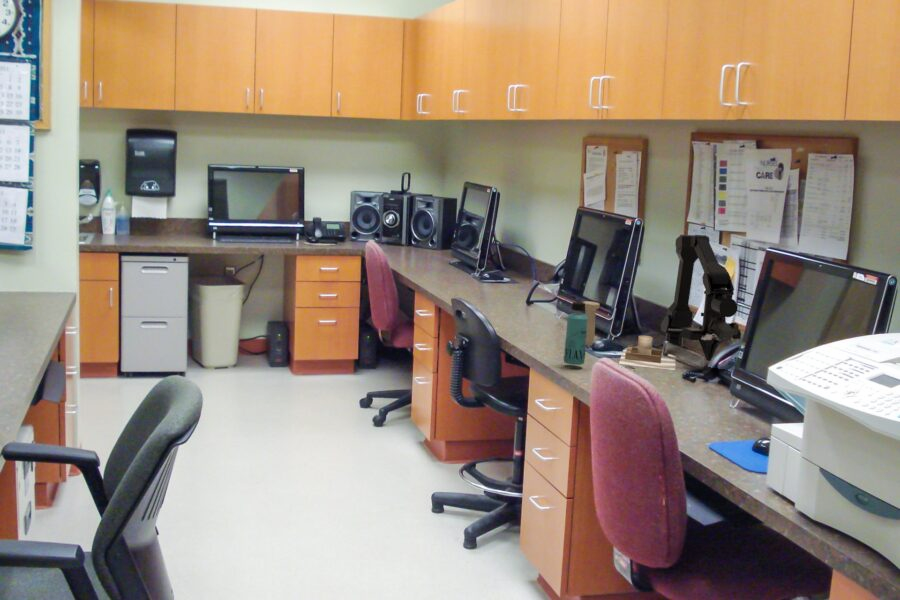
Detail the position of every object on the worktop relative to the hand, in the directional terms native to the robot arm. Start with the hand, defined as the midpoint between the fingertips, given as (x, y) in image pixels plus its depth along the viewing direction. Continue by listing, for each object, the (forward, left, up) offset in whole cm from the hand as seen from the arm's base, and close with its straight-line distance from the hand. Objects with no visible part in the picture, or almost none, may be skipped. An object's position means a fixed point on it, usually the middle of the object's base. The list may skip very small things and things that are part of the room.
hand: (708, 360), depth 303 cm
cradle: (-2, -18, -3) cm, 19 cm away
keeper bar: (-3, -8, -2) cm, 9 cm away
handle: (-16, -39, -3) cm, 42 cm away
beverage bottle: (+16, -40, -3) cm, 43 cm away
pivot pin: (-5, -20, -2) cm, 21 cm away
